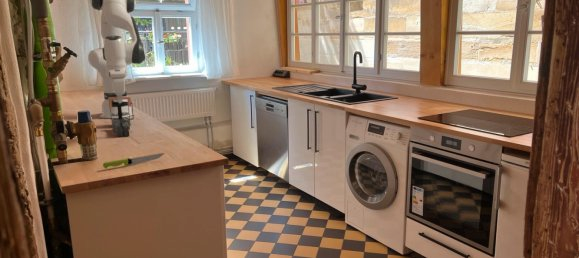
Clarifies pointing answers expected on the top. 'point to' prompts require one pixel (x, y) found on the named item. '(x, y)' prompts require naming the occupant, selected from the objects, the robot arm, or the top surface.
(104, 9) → the robot arm
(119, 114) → the french press
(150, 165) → the top surface
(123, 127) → the tongs arm
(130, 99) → the lock clip
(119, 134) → the tongs base
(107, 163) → the kitchen knife
